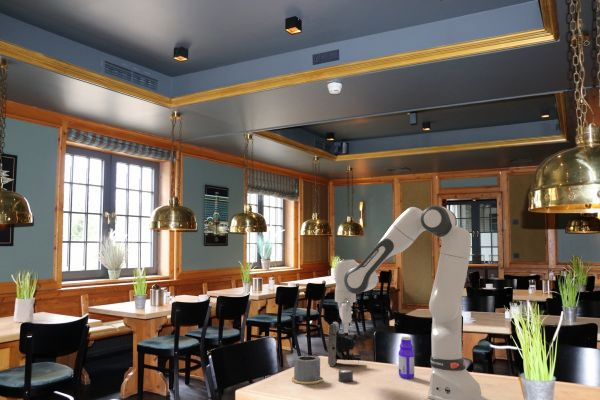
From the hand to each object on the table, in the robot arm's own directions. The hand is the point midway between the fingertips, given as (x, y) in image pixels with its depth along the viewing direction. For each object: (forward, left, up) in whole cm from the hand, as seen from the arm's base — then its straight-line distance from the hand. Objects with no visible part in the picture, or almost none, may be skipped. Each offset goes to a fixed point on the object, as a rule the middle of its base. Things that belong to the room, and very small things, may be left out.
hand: (345, 330), depth 219 cm
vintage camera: (+24, -16, -21) cm, 35 cm away
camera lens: (0, 0, -21) cm, 21 cm away
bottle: (-8, -26, -21) cm, 34 cm away
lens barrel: (+8, +14, -21) cm, 26 cm away
